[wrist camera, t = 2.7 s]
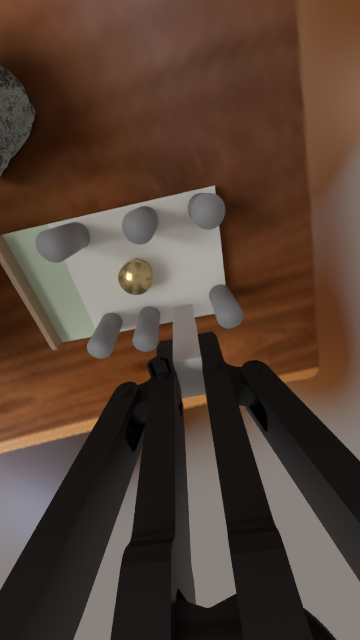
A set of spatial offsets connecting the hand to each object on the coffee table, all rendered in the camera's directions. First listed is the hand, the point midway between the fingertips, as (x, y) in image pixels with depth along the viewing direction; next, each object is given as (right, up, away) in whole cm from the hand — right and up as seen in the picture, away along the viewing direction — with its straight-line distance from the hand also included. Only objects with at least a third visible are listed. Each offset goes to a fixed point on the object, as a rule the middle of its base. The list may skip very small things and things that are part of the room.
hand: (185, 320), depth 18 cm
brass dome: (-6, +6, +14) cm, 17 cm away
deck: (-8, +7, +15) cm, 18 cm away
